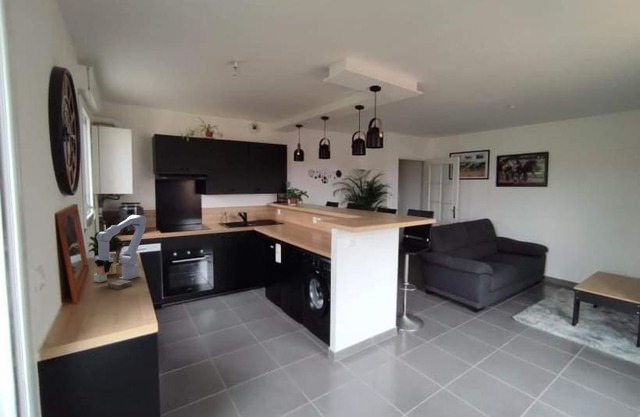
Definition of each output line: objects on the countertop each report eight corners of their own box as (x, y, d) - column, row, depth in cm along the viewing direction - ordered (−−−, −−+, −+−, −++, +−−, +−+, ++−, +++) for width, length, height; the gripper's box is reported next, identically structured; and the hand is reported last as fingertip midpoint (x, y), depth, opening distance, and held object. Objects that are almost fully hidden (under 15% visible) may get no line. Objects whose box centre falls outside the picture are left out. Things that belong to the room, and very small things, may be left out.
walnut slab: (121, 284, 197) (121, 279, 197) (131, 286, 194) (131, 281, 194) (107, 287, 188) (107, 283, 188) (118, 290, 185) (118, 285, 185)
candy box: (115, 272, 220) (115, 251, 220) (116, 273, 217) (116, 252, 216) (100, 274, 215) (100, 252, 214) (101, 275, 212) (101, 254, 211)
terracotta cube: (104, 272, 196) (104, 265, 196) (110, 273, 194) (110, 266, 194) (96, 274, 191) (96, 266, 191) (102, 275, 190) (102, 267, 189)
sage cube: (101, 279, 203) (101, 272, 203) (106, 280, 202) (106, 273, 201) (93, 281, 199) (93, 274, 198) (99, 282, 197) (99, 275, 197)
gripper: (89, 250, 191) (89, 271, 192) (105, 252, 186) (105, 274, 187) (100, 248, 197) (100, 269, 198) (116, 251, 193) (116, 271, 193)
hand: (103, 271), depth 193 cm, fingers closed on terracotta cube, 5 cm apart
